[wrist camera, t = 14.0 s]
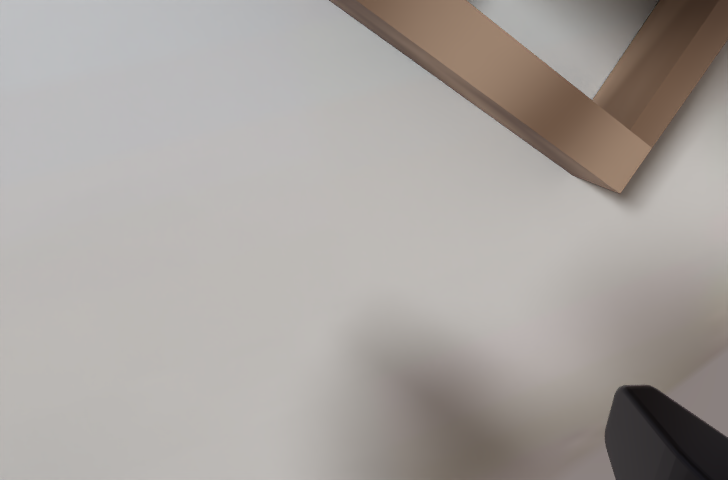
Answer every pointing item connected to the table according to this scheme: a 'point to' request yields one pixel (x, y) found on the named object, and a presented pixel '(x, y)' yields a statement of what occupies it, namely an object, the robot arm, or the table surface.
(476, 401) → the table surface
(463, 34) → the keyhole block
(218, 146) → the table surface
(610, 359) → the table surface
